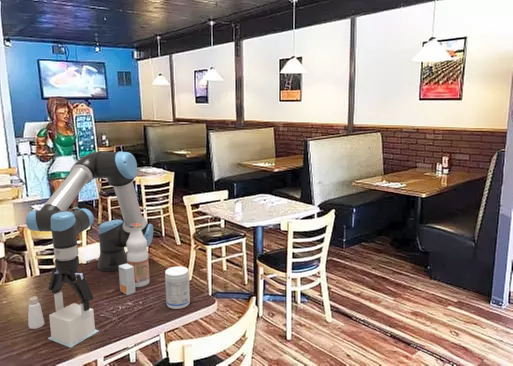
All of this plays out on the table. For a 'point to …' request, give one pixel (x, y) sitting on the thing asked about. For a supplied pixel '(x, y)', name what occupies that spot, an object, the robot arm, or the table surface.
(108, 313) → the table surface
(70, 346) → the plain pale blue panel
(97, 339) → the table surface
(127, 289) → the skincare box
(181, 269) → the supplement tub
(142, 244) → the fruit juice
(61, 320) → the plain cream cube
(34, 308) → the pepper shaker
